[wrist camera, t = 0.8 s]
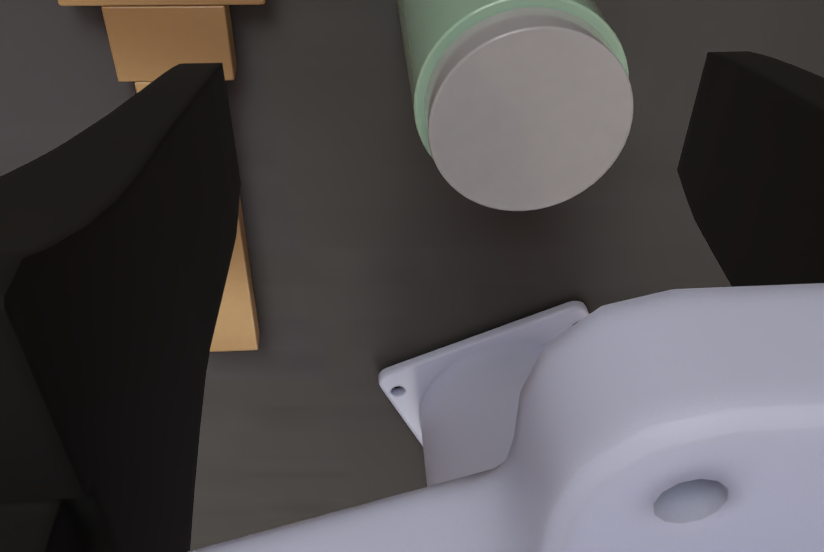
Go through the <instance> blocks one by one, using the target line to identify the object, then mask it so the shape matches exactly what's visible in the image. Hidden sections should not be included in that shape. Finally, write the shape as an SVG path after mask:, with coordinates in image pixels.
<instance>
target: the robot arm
mask: <svg viewBox="0 0 824 552" xmlns="http://www.w3.org/2000/svg"><path fill="white" fill-rule="evenodd" d="M677 170H678V174H679V177H680V180H681V183H682V186H683V189H684V192H685V195H686V198H687V201H688V203H689V206H690V208H691V211H692V214H693V216H694V219H695V221H696V223H697V225H698V227H699V229H700V230H701V232H702V234H703V236H704V238H705V239H706V241H707V243H708V245H709V247H710V249H711V250H712V252H713V254H714V256H715V258H716V259H717V261H718V263H719V265H720V266H721V268H722V270H723V271H724V273H725V275H726V277H727V278H728V280H729V282H730V284H731V285H732V287H714V288H689V289H672V290H667V291H663V292H658V293H654V294H650V295H646V296H641V297H637V298H633V299H628V300H624V301H620V302H616V303H611V304H607V305H603V306H601V307H599V308H598V309H596V310H595V311H593V312H592V313H591V314H589V312H588V310H587V307H586V306H585V304H584V303H582V302H580V301H570V302H567V303H564V304H561V305H558V306H556V307H553V308H550V309H547V310H545V311H542V312H539V313H536V314H533V315H531V316H528V317H525V318H522V319H520V320H517V321H514V322H511V323H509V324H506V325H503V326H500V327H498V328H495V329H492V330H489V331H486V332H484V333H481V334H478V335H475V336H473V337H470V338H467V339H464V340H462V341H459V342H456V343H453V344H451V345H448V346H445V347H442V348H439V349H437V350H434V351H431V352H428V353H426V354H423V355H420V356H417V357H415V358H412V359H409V360H406V361H404V362H401V363H398V364H395V365H393V366H390V367H387V368H385V369H383V370H382V371H381V372H380V373H379V377H378V379H379V385H380V387H381V389H382V390H383V391H384V393H385V394H386V396H387V397H388V398H389V400H390V401H391V403H392V404H393V405H394V407H395V408H396V410H397V411H398V412H399V414H400V415H401V417H402V418H403V419H404V421H405V422H406V424H407V425H408V426H409V428H410V429H411V431H412V432H413V433H414V435H415V436H416V438H417V439H418V440H419V442H420V443H421V445H422V446H423V451H424V461H425V470H426V480H427V487H424V488H420V489H416V490H413V491H409V492H405V493H402V494H398V495H394V496H391V497H387V498H383V499H380V500H376V501H372V502H369V503H365V504H361V505H358V506H354V507H350V508H347V509H343V510H339V511H336V512H332V513H328V514H325V515H321V516H317V517H314V518H310V519H306V520H303V521H299V522H295V523H291V524H288V525H284V526H280V527H277V528H273V529H269V530H266V531H262V532H258V533H255V534H251V535H247V536H244V537H240V538H236V539H233V540H229V541H225V542H222V543H218V544H214V545H211V546H207V547H203V548H200V549H196V550H192V551H190V542H191V529H192V515H193V502H194V488H195V477H196V466H197V455H198V444H199V433H200V423H201V414H202V405H203V395H204V386H205V377H206V370H207V364H208V358H209V353H210V347H211V343H212V339H213V335H214V330H215V326H216V322H217V318H218V313H219V309H220V305H221V301H222V297H223V292H224V288H225V284H226V280H227V275H228V271H229V267H230V262H231V258H232V254H233V249H234V245H235V240H236V235H237V225H238V213H239V199H240V184H241V182H240V176H239V169H238V163H237V156H236V149H235V143H234V136H233V130H232V123H231V117H230V110H229V103H228V97H227V90H226V84H225V77H224V70H223V64H222V63H183V64H178V65H176V66H174V67H172V68H171V69H169V70H168V71H166V72H165V73H163V74H162V75H161V76H159V77H158V78H157V79H155V80H154V81H153V82H151V83H150V84H149V85H147V86H146V87H145V88H143V89H142V90H141V91H139V92H138V93H137V94H135V95H134V96H133V97H131V98H130V99H129V100H127V101H126V102H125V103H123V104H122V105H121V106H119V107H118V108H117V109H115V110H114V111H112V112H111V113H110V114H108V115H107V116H105V117H104V118H102V119H101V120H99V121H98V122H96V123H95V124H93V125H91V126H90V127H88V128H87V129H85V130H84V131H82V132H81V133H79V134H78V135H76V136H75V137H73V138H72V139H70V140H69V141H67V142H66V143H64V144H62V145H60V146H59V147H57V148H55V149H54V150H52V151H50V152H48V153H46V154H45V155H43V156H41V157H39V158H37V159H35V160H33V161H31V162H29V163H27V164H25V165H23V166H21V167H19V168H17V169H15V170H13V171H11V172H9V173H7V174H5V175H3V176H1V177H0V552H824V78H823V77H821V76H818V75H816V74H813V73H811V72H808V71H806V70H804V69H801V68H799V67H796V66H794V65H791V64H788V63H785V62H783V61H780V60H777V59H774V58H771V57H768V56H765V55H761V54H757V53H753V52H708V54H707V58H706V62H705V65H704V69H703V73H702V77H701V81H700V85H699V88H698V92H697V96H696V100H695V104H694V107H693V111H692V115H691V119H690V123H689V127H688V130H687V134H686V138H685V142H684V146H683V150H682V153H681V157H680V161H679V165H678V169H677ZM576 322H577V323H576ZM575 323H576V324H575ZM573 324H575V325H573ZM397 386H400V388H394V387H397Z"/></svg>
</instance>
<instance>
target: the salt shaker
mask: <svg viewBox="0 0 824 552" xmlns="http://www.w3.org/2000/svg"><path fill="white" fill-rule="evenodd" d="M397 7H398V14H399V21H400V27H401V34H402V40H403V47H404V53H405V60H406V67H407V73H408V80H409V86H410V93H411V99H412V106H413V112H414V119H415V123H416V127H417V131H418V134H419V137H420V139H421V141H422V144H423V145H424V147H425V149H426V150H427V152H428V154H429V155H430V156H431V157H432V159H433V160H434V162H435V165H436V167H437V168H438V170H439V172H440V173H441V175H442V176H443V177H444V179H445V180H446V181H447V182H448V184H450V185H451V186H452V187H453V188H454V189H455V190H456V191H457V192H459V193H460V194H462V195H463V196H465V197H466V198H468V199H470V200H472V201H474V202H476V203H478V204H480V205H483V206H486V207H489V208H494V209H498V210H506V211H529V210H537V209H541V208H546V207H550V206H553V205H556V204H559V203H561V202H564V201H566V200H568V199H570V198H572V197H574V196H576V195H578V194H579V193H581V192H583V191H584V190H586V189H587V188H588V187H590V186H591V185H593V184H594V183H595V182H596V181H597V180H598V179H599V178H601V177H602V176H603V175H604V174H605V173H606V171H607V170H608V169H609V168H610V167H611V166H612V164H613V163H614V162H615V160H616V159H617V157H618V156H619V154H620V152H621V151H622V149H623V147H624V145H625V143H626V140H627V137H628V135H629V132H630V128H631V124H632V119H633V110H634V105H633V93H632V88H631V84H630V81H629V69H628V64H627V59H626V55H625V53H624V50H623V47H622V45H621V43H620V41H619V39H618V37H617V36H616V34H615V32H614V31H613V29H612V28H611V26H610V25H609V23H608V22H607V20H606V19H605V17H604V16H603V14H602V13H601V11H600V10H599V8H598V7H597V5H596V4H595V2H594V1H593V0H397Z"/></svg>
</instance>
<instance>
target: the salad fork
mask: <svg viewBox="0 0 824 552" xmlns="http://www.w3.org/2000/svg"><path fill="white" fill-rule="evenodd" d="M265 2H266V0H58V3H59V5H60V6H102V8H101V9H102V13H103V17H104V22H105V26H106V30H107V35H108V39H109V43H110V48H111V52H112V56H113V60H114V65H115V69H116V73H117V78H118V81H120V82H131V81H135V87H136V92H137V93H138V92H139V91H141V90H142V89H143V88H145V87H146V86H147V85H149V84H150V83H151V82H153V81H154V80H155V79H157V78H158V77H159V76H161V75H162V74H163V73H165V72H166V71H168V70H169V69H171V68H172V67H174V66H176V65H178V64H183V63H222V64H223V70H224V77H225V80H234V78H235V74H236V69H237V62H236V55H235V47H234V39H233V31H232V23H231V16H230V8H229V5H263V4H265ZM259 337H260V333H259V326H258V319H257V312H256V304H255V297H254V290H253V283H252V276H251V269H250V262H249V255H248V248H247V241H246V234H245V226H244V219H243V212H242V205H241V198H240V199H239V213H238V225H237V235H236V240H235V245H234V249H233V254H232V258H231V262H230V267H229V271H228V275H227V280H226V284H225V288H224V292H223V297H222V301H221V305H220V309H219V313H218V318H217V322H216V326H215V330H214V335H213V339H212V343H211V347H210V352H215V351H242V350H258V346H259Z"/></svg>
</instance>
